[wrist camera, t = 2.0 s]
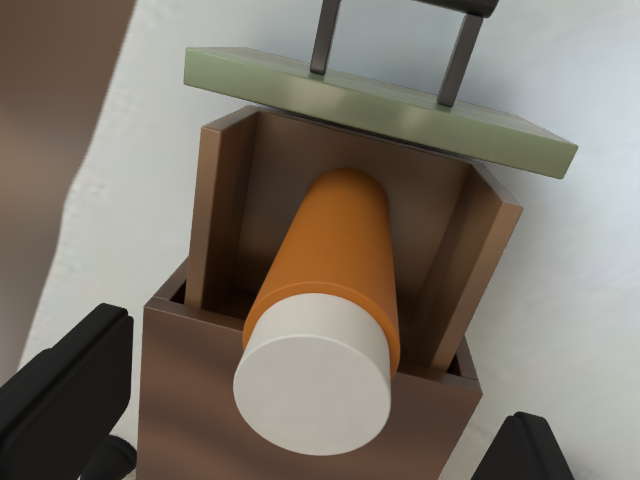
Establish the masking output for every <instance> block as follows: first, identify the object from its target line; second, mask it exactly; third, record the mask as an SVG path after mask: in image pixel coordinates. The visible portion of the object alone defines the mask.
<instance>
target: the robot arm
mask: <svg viewBox="0 0 640 480" xmlns="http://www.w3.org/2000/svg"><path fill="white" fill-rule="evenodd" d="M133 325H134V320H133V317H131V316H128V311H127V309H125V308H121V307H117V306H113V305H110V304H106V303H101V304H100V305H98V306H97V307H96V308H95V309H94V310H93V311H92V312H90V313H89V314H88V315H87V316H86V317H85V318H84V319H83V320H82V321H81V322H79V323H78V324H77V325H76V326H75V327H74V328H73V329H72V330H71V331H70V332H69V333H67V334H66V335H65V336H64V337H63V338H62V339H61V340H60V341H59V342H58V343H57V344H55V345H54V346H53V347H52V348H48V349H45V350H43V351H42V352H40V353H39V354H37V355H36V356H35V357H34V358H33V359H32V360H31V361H30V362H28V363H27V364H26V365H25V366H24V367H23V368H22V369H21V370H19V371H18V372H17V373H16V374H15V375H14V376H13V377H12V378H11V379H10V380H8V381H7V382H6V383H5V384H4V385H3V386H2V387H1V388H0V480H77V479H78V478H79V476H80V475H81V473H82V472H83V471H84V469H85V468H86V466H87V465H88V463H89V462H90V460H91V459H92V458H93V456H94V455H95V453H96V452H97V450H98V449H99V448H100V446H101V445H102V443H103V442H104V440H105V439H106V437H107V436H108V435H109V433H110V432H111V430H112V429H113V427H114V426H115V425H116V423H117V422H118V420H119V419H120V417H121V416H122V414H123V413H124V411H125V410H126V408H127V406H128V403H129V400H130V395H131V372H132V348H133ZM471 480H575V479H574V477H573V475H572V473H571V471H570V469H569V466H568V464H567V462H566V460H565V458H564V456H563V454H562V452H561V449H560V447H559V445H558V443H557V441H556V439H555V437H554V435H553V432H552V430H551V428H550V426H549V424H548V422H547V421H546V419H544V418H543V417H539V416H536V415H532V414H528V413H524V412H519V411H518V412H516V413H515V414H514V415H513V416H508V417H507V418H506V419H505V421H504V423H503V424H502V426H501V428H500V430H499V431H498V433H497V435H496V437H495V438H494V440H493V442H492V444H491V445H490V447H489V449H488V450H487V452H486V454H485V456H484V457H483V459H482V461H481V463H480V464H479V466H478V468H477V469H476V471H475V473H474V475H473V476H472V478H471Z"/></svg>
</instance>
